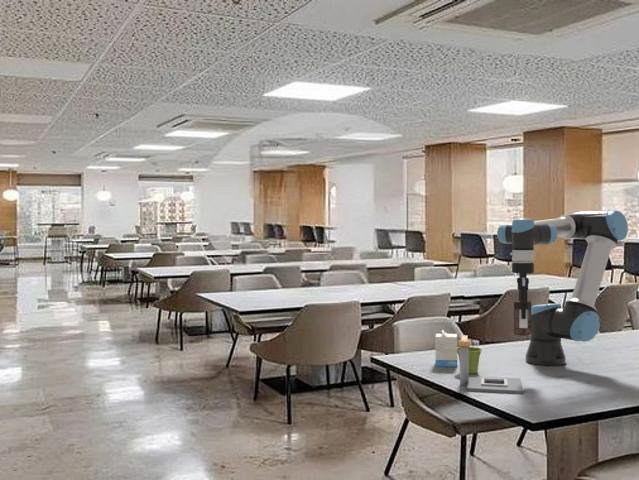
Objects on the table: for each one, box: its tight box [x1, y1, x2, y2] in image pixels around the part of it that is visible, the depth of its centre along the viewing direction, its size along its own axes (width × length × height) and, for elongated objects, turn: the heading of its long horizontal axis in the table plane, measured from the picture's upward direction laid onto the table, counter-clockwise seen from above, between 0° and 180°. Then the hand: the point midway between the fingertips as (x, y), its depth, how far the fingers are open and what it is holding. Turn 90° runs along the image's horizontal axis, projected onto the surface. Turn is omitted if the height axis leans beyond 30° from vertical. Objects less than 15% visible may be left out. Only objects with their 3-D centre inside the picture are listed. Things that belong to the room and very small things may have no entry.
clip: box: [457, 334, 471, 347], centre depth 240 cm, size 14×4×2 cm, turn 167°
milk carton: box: [434, 329, 458, 368], centre depth 268 cm, size 9×8×13 cm
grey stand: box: [459, 346, 524, 395], centre depth 233 cm, size 20×18×13 cm
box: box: [513, 300, 532, 337], centre depth 244 cm, size 6×4×12 cm
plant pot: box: [456, 346, 483, 375], centre depth 255 cm, size 9×9×9 cm
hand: (522, 326), depth 244 cm, fingers closed on box, 7 cm apart
